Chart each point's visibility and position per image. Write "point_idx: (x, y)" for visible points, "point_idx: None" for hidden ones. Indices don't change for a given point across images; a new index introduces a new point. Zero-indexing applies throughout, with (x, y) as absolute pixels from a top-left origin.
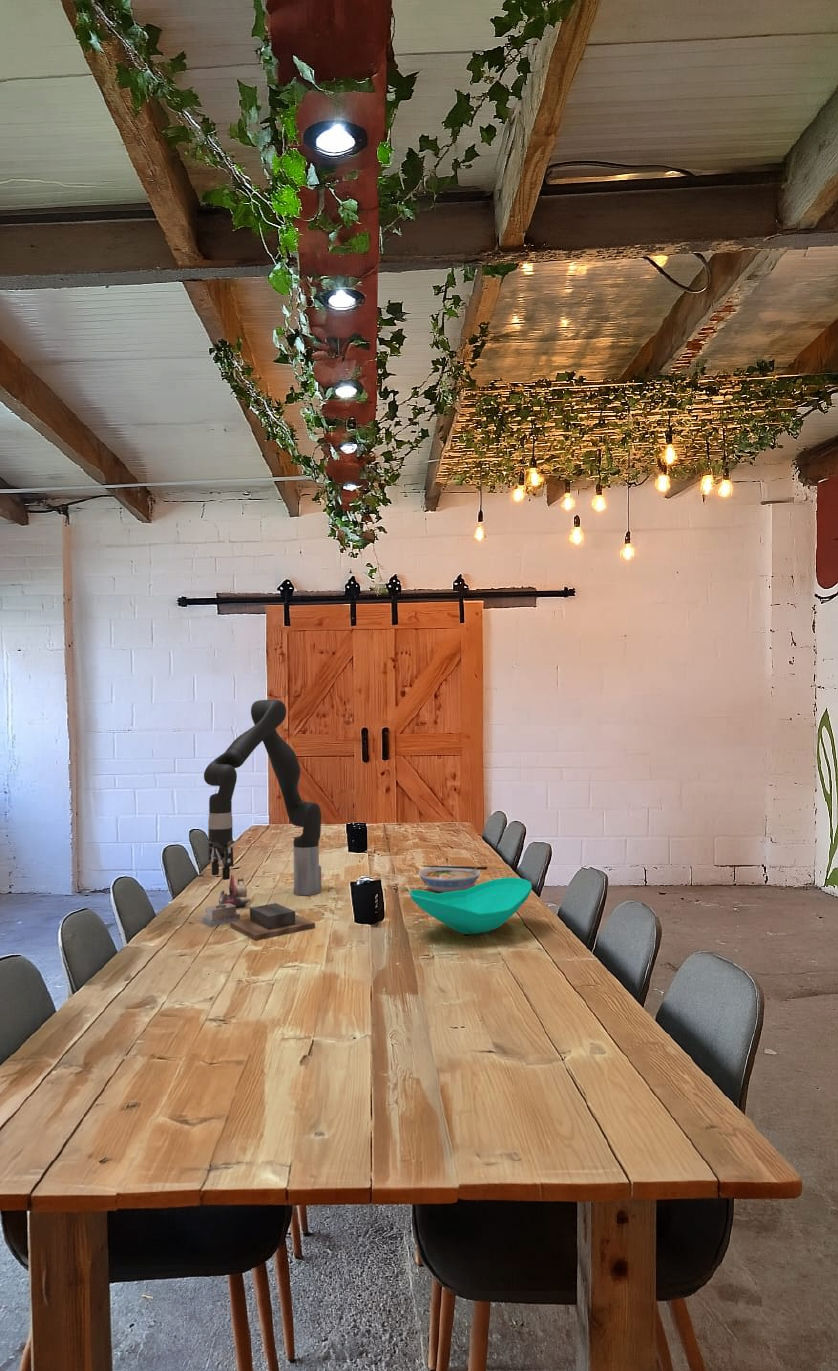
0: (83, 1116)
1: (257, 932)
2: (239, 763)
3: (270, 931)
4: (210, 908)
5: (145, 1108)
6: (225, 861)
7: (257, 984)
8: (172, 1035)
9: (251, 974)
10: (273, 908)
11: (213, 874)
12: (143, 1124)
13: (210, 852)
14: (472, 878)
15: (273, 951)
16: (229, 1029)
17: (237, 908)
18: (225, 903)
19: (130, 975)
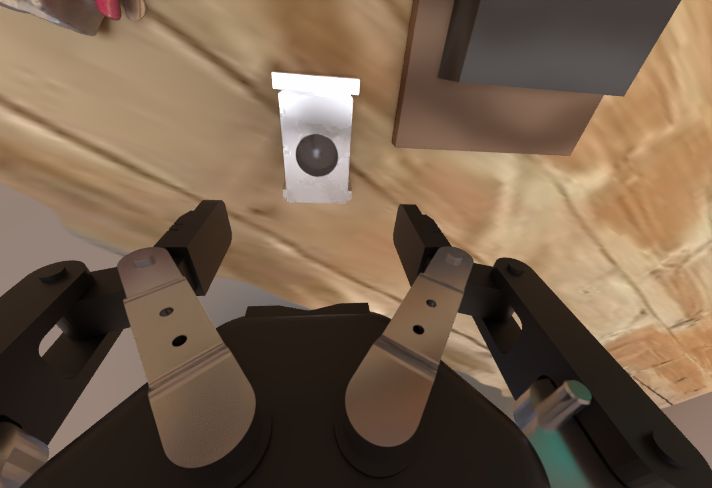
0: (655, 393)
1: (558, 136)
2: None
3: (596, 96)
4: (316, 197)
5: (692, 376)
6: (507, 343)
7: (693, 260)
8: (650, 352)
9: (663, 251)
10: None
11: (230, 237)
12: (701, 378)
13: (67, 402)
14: None
15: (654, 160)
16: (708, 321)
17: None
18: (90, 9)
19: (482, 352)
